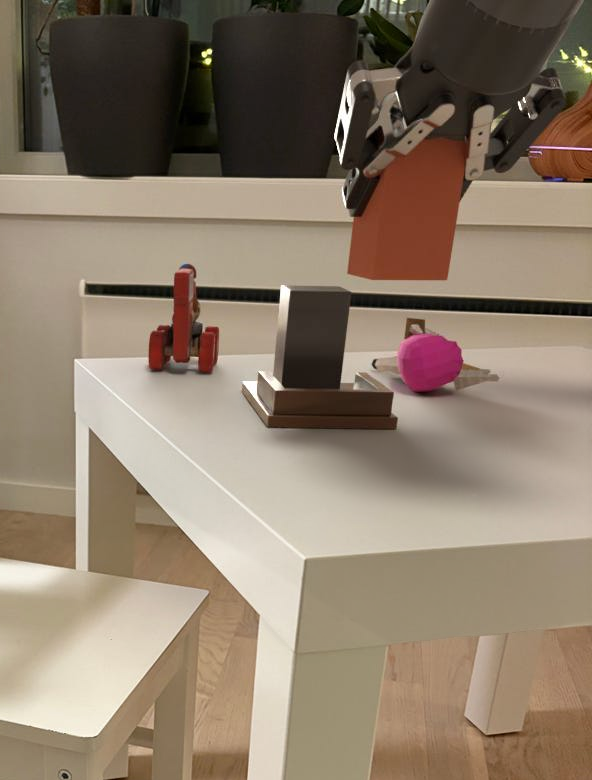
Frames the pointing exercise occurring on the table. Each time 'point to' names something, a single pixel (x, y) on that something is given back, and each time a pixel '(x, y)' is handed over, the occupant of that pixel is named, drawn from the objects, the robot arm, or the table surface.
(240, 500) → the table surface
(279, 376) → the brown wooden stand
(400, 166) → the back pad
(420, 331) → the toy
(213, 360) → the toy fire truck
